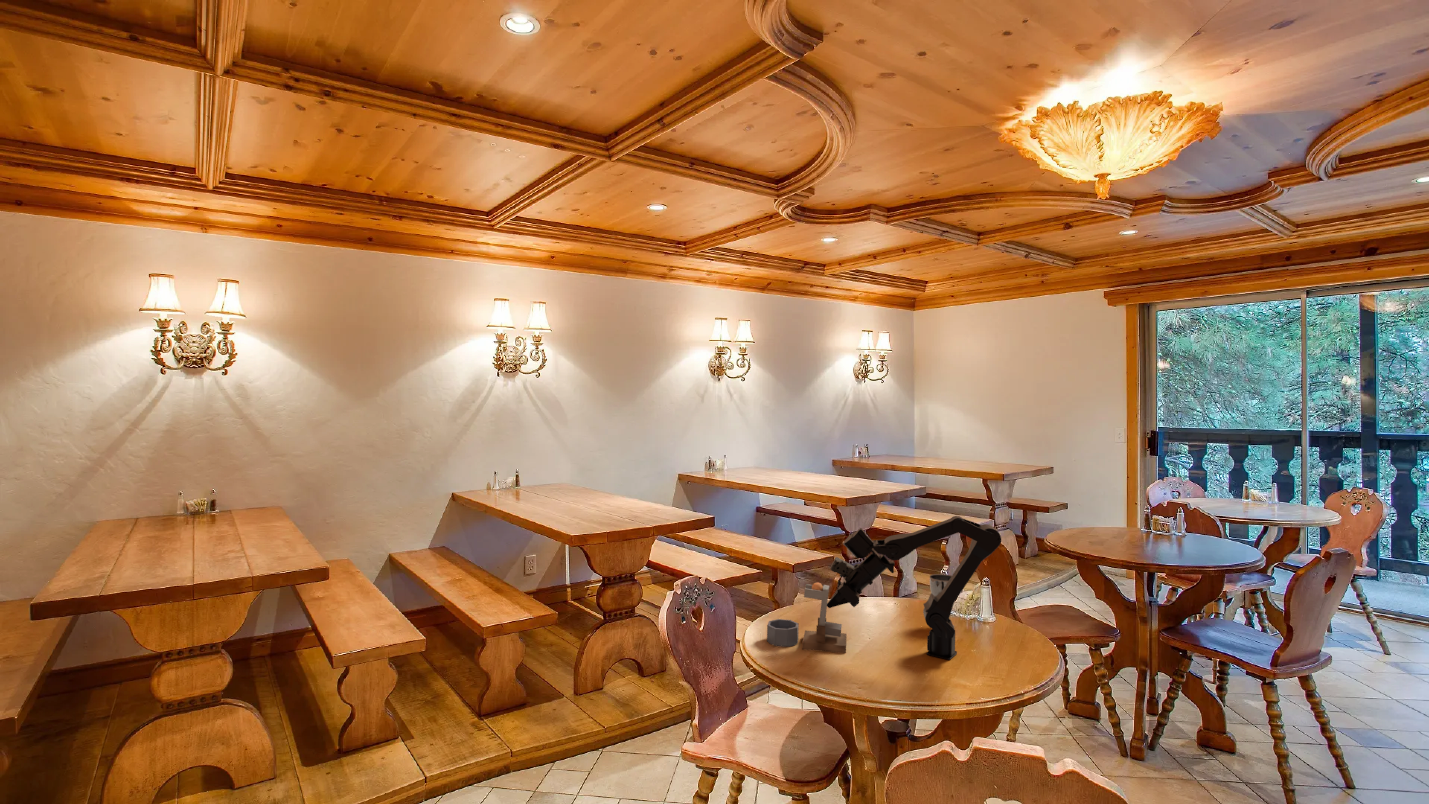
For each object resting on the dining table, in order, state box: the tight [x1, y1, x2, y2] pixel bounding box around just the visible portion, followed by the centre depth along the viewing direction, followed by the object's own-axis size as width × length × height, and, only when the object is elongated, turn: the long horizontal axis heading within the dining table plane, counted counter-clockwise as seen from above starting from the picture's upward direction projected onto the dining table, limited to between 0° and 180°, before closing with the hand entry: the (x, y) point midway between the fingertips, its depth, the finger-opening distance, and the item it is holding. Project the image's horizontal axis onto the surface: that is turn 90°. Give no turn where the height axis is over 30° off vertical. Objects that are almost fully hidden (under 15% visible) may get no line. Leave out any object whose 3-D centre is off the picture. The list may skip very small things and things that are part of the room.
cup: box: [766, 618, 800, 648], centre depth 206 cm, size 9×9×5 cm
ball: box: [811, 582, 824, 591], centre depth 203 cm, size 3×3×3 cm
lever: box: [803, 583, 843, 637], centre depth 203 cm, size 11×6×13 cm, turn 79°
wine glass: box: [929, 573, 955, 627], centre depth 221 cm, size 8×8×15 cm
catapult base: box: [801, 616, 848, 654], centre depth 203 cm, size 12×10×6 cm
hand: (827, 606), depth 203 cm, fingers closed, pressing on lever
